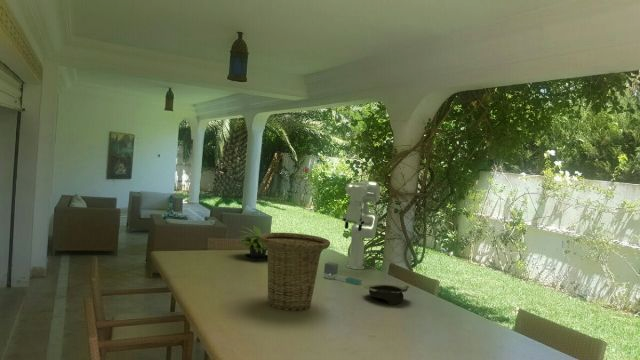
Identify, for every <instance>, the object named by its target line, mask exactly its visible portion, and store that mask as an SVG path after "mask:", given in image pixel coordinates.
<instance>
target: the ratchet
mask: <svg viewBox="0 0 640 360" xmlns="http://www.w3.org/2000/svg"><path fill="white" fill-rule="evenodd" d="M323 273H324V272H323ZM323 278H324V279H326V280H332V279H333V280H336V281H340V282H343V281H344V283H347V284H352V285H356V286H360V285H362V279H359V278H355V277H346V276H342V275H338V273H337V274H334V275H331V274H326V273H324V274H323Z"/></svg>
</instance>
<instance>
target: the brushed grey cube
mask: <svg viewBox="0 0 640 360" xmlns="http://www.w3.org/2000/svg"><path fill="white" fill-rule="evenodd" d="M338 269H339V264H338V263H334V262H332V261H329V262H325V263H324V269H323V273H326V274H331V275H334V274H337V275H338V272H339V271H338Z"/></svg>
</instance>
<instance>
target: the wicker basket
mask: <svg viewBox="0 0 640 360" xmlns="http://www.w3.org/2000/svg"><path fill="white" fill-rule="evenodd" d="M260 241H261V242H262V243H264V244H265V245H266V246H267V250H266V251H267V255H268V261H267V303H268V305H269V306H271V307H272V308H277V309H278V310H282V309H283V310H284V311H289V310H291V311H293V312H294V311H297V310H298V311H302V310H308V308H310V307H311V304H312V299H313V294H314V288H315V284H316V279H317V273H318V269H319V263H320V262H319V261H320V258H321V254H322V252H323V251H324V250H325V249H328V248H329V247H330V246H331V241H330V240H329V239H327V238H325V237H321V236H317V235H313V234H305V233H294V232H267V233H261V236H260Z"/></svg>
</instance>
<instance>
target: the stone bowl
mask: <svg viewBox="0 0 640 360" xmlns="http://www.w3.org/2000/svg"><path fill="white" fill-rule="evenodd" d="M409 288H410V286H408V285H406V286H402V285H397V284H395V285H394V284H384V283H383V284H381V283H377V284H367V285H365V286H363V289H366V290H368V292H369V295H370V296H371V297H374V298H376V299H381V300H385V301H386V304H388V305H391V306H392V305H397V304H399V303H402V302H403V301H404V294H403V293H406V292H407V291H408V289H409Z"/></svg>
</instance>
